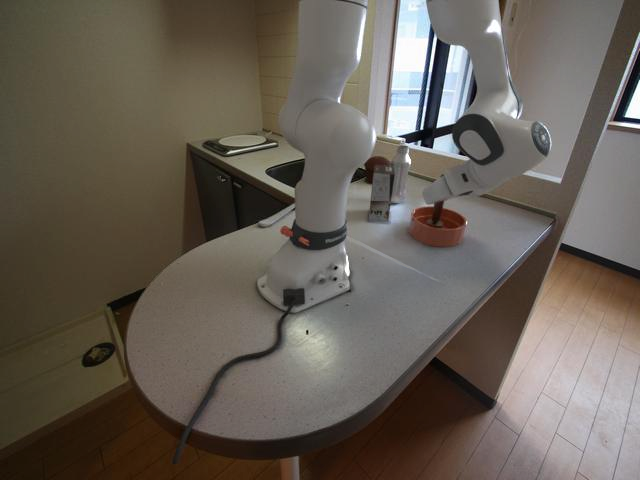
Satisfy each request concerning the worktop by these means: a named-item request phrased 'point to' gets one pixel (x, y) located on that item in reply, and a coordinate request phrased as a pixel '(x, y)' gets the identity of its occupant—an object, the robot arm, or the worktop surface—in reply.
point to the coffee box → (381, 192)
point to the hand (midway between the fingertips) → (437, 199)
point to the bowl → (436, 236)
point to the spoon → (275, 217)
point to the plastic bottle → (400, 174)
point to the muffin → (371, 164)
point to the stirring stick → (436, 215)
